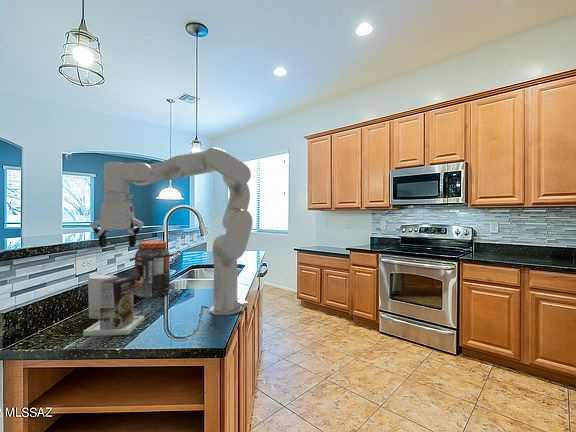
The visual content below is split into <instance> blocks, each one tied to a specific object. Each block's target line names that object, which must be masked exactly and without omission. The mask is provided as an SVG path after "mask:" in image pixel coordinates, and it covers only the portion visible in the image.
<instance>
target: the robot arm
mask: <svg viewBox="0 0 576 432" xmlns="http://www.w3.org/2000/svg"><path fill="white" fill-rule="evenodd" d="M215 171H216V172H217V173H219V174H220V175H222V180H223V182H224V183H225V185H226V186H227V188H228V191H229V197H228V202H227V205H226V209H225V211H224V215H223V217H222V225H223V228H224V229H225V230H226V231H225V233H222V234H220V235H218V236H216V238H215V239H214V240H213V243H212V256H213V306H211V307H210V308H209V312H210V314H211V315H214V316H231V315H236V314H238V313H240V312H241V311H242V308H248V307H249V302H248V301H246V300H242V301H241V300H239V297H238V259H240V258H241V257H242V256H243V255H244V254H245V252H246V249H247V246H248V242H249V238H250V235H251V233H252V232H251V231H252V228H253V223H254V222H253V217H252V215H251V213H250V212H249V211H248V209H249V204H250V200H251V191H250V188H249V185H248V182H249V181H250V180H251V176H252V174H251V173H252V172H251V170H250V167H249V166H248V165H247V164H246V163H244V162H243V161H241V160H239V159H238V158H236V157H234V156H233V155H231V154H230V153H229V152H226V150H223V149H221V148H219V147H215V146H214V147H210V148H208V149H206V150H203V151H197V152H190V153H186V154H178V155H175V156H172V157H170V158H168V159H165V160H163V161H160V162H155V163H149V164H147V163H145V162H121V161H107V162H105V163H104V165H103V183H104V184H103V185H104V186H103V187H104V191H103V193H104V195H103V196H104V197H103V198H104V201H102V203H101V208H100V216H99V219H97V220H95V221H93V222H91V223H89V224H90V227H91V228H92V230H93V232H94V233H95V234H96V235H97V236H98V245H99V248H105V247H107V235H106V233H107V232H108V231H126V232H128V234H130V235H129V236H128V246H129V247H130V248H133V247H135V246H136V244H137V235H138V233H140V231H141V230H142V228H143V226H144V224H145V223H144V222H143V221H141V220H139V219H137V218H136V217H135V211H134V205H133V202H132V201H131V199H133V198H134V195H133V194H131V193H130V186H129V184H130V183H132V184H134V185H136V186H139V187H140V186H147V185H152V184H157V183H162V182H166V181H172V180H178V179H183V178H188V177H191V176H192V177H193V176H197V175H203V174H207V173H213V172H215ZM98 225H99V227H100V228H99V227H98ZM136 225H137V226H136ZM135 227H136V228H135Z"/></svg>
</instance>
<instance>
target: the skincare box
mask: <svg viewBox="0 0 576 432" xmlns="http://www.w3.org/2000/svg"><path fill="white" fill-rule="evenodd" d="M115 278H118V275H109V274H107V275H106V274H100V275H96V276H92V277H88V278H87V290H88V291H87V293H88V294H87V295H88V296H87V297H88V318H89V319H95V320H100V295H101V282H104V281H107V280H111V279H115Z"/></svg>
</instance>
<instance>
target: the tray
mask: <svg viewBox="0 0 576 432" xmlns="http://www.w3.org/2000/svg"><path fill="white" fill-rule="evenodd" d="M144 321H145V315H133V322H132V323H130V324H128V325H126V326H124V327H122V328H120V329H106V330H103V329H100V319H98V321H96V322H95V323H92V325H91V326H89V327H87V328H86V329H84V330H83V332H82V333H83V334H82V335H83V336H84V337H90V336H92V337H93V336H95V337H96V336H123V335H124V336H128V335H130V334H131V333H132V332H133V331H134V330H135V329H136V328H137V327H138V326H139V325H141V324H142V323H143V322H144Z"/></svg>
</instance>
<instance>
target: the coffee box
mask: <svg viewBox="0 0 576 432" xmlns="http://www.w3.org/2000/svg"><path fill="white" fill-rule="evenodd" d="M134 291H135V277H117V278H115V279H111V280H107V281H104V282H101V295H100V319H99V320H100V329H103V330H106V329H120V328H122V327H124V326H126V325H128V324H130V323H132V322H133V316H134Z"/></svg>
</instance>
